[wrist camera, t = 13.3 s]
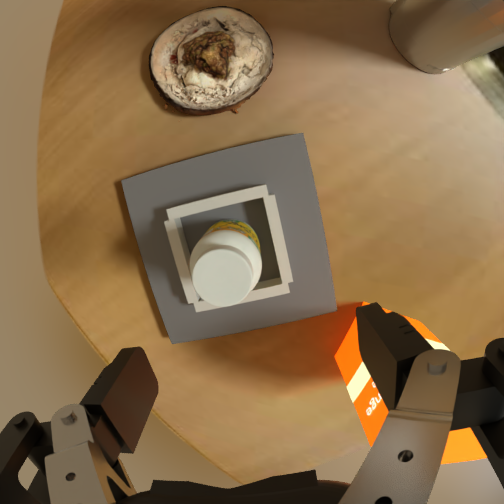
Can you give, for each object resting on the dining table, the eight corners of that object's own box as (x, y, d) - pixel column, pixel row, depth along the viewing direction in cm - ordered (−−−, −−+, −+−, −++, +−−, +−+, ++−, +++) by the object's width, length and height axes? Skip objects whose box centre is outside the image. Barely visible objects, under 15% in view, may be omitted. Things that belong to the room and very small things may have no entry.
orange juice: (390, 371, 34) (458, 486, 15) (333, 357, 33) (386, 497, 14) (420, 319, 32) (518, 421, 13) (363, 299, 32) (460, 421, 12)
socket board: (127, 180, 29) (112, 180, 26) (300, 134, 28) (306, 129, 24) (175, 337, 33) (167, 353, 30) (333, 305, 32) (341, 319, 28)
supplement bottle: (192, 248, 29) (164, 281, 20) (228, 206, 28) (215, 219, 19) (234, 284, 30) (226, 330, 20) (272, 244, 29) (280, 275, 19)
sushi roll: (133, 33, 25) (120, 17, 21) (262, -4, 24) (263, -24, 20) (157, 146, 29) (143, 142, 25) (301, 108, 28) (308, 97, 24)
